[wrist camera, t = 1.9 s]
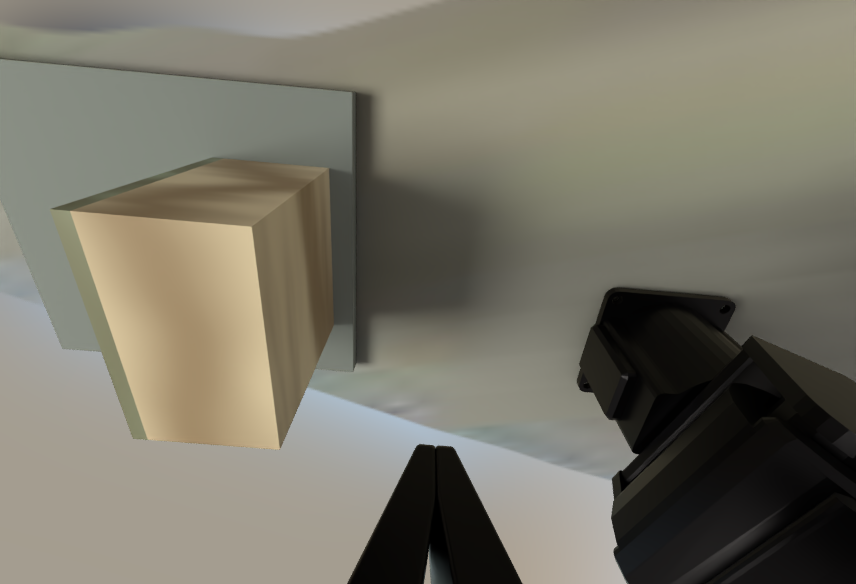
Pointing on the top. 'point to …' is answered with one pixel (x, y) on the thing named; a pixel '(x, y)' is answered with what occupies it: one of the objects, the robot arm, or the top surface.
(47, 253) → the slate mat
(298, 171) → the tile block
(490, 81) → the top surface
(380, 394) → the top surface
